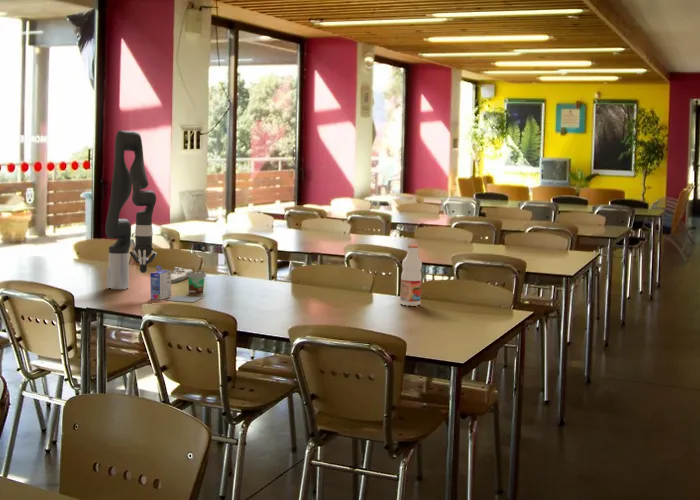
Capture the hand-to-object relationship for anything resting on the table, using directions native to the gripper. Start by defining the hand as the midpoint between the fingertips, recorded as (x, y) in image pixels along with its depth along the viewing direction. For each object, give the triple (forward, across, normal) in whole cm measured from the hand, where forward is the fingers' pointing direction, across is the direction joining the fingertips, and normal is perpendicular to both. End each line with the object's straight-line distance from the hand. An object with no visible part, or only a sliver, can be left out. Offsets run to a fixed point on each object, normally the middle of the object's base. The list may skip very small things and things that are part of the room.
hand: (143, 272), depth 410 cm
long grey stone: (+12, -5, +57) cm, 59 cm away
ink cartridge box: (+12, +8, 0) cm, 14 cm away
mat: (+11, +19, +1) cm, 22 cm away
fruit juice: (+12, +119, +26) cm, 123 cm away
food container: (+11, +19, +20) cm, 30 cm away
